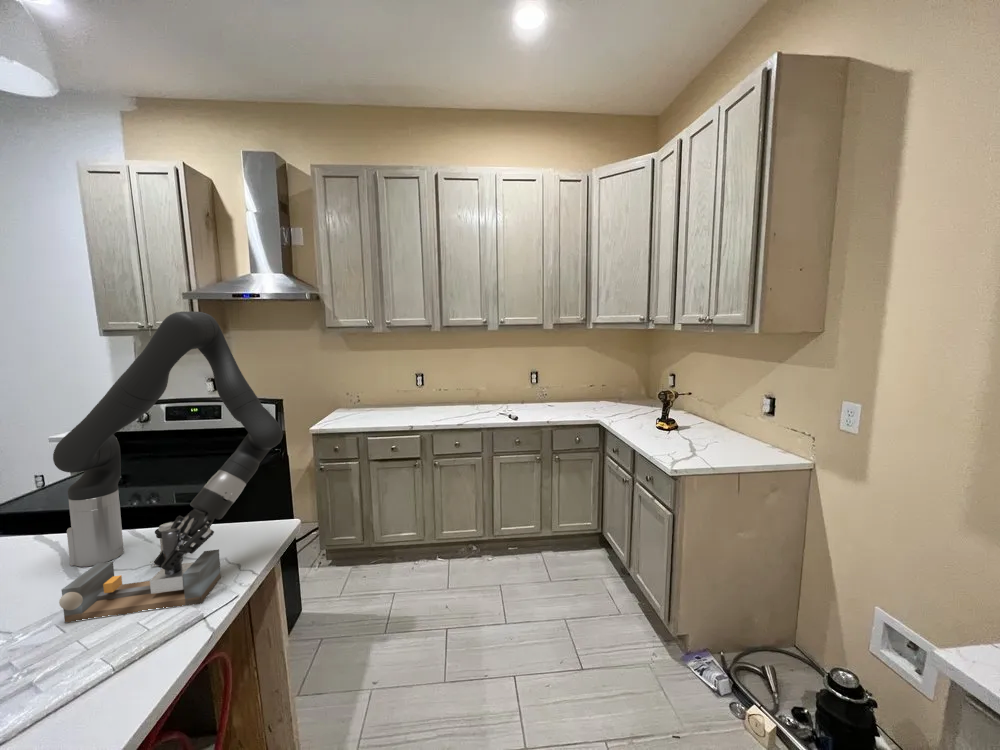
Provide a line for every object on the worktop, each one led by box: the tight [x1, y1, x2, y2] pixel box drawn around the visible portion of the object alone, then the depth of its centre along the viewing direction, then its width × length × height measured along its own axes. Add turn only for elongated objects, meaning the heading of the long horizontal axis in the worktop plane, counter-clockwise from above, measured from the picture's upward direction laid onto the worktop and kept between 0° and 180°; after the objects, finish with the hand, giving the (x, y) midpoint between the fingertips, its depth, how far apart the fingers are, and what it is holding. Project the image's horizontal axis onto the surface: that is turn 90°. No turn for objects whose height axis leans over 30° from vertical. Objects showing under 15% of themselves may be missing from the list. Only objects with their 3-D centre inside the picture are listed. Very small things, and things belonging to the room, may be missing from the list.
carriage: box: [149, 528, 195, 594], centre depth 91 cm, size 6×6×12 cm
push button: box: [149, 521, 184, 568], centre depth 105 cm, size 7×5×10 cm
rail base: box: [58, 548, 222, 623], centre depth 90 cm, size 24×10×7 cm, turn 104°
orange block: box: [103, 574, 123, 593], centre depth 89 cm, size 2×3×2 cm, turn 14°
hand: (161, 566), depth 89 cm, fingers closed on carriage, 3 cm apart
